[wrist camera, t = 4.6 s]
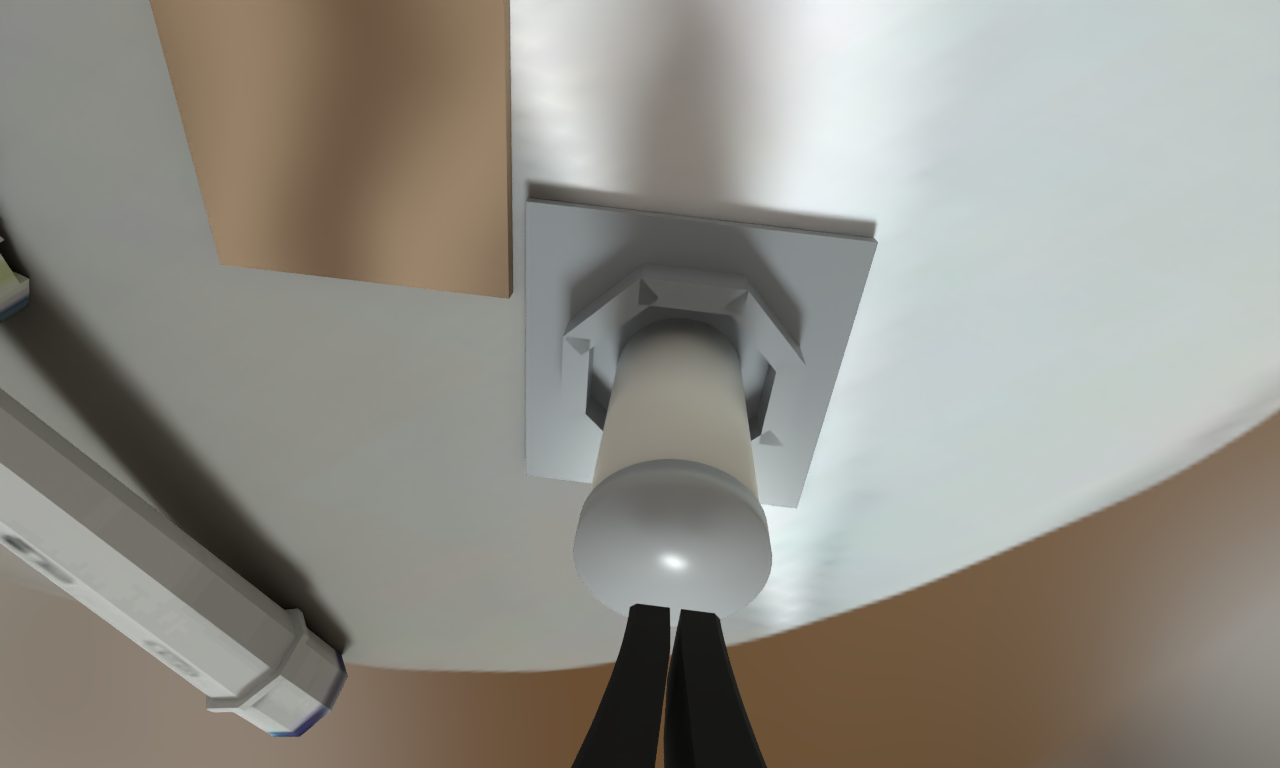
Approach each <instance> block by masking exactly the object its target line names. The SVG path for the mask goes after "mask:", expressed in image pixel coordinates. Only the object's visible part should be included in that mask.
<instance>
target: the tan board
mask: <svg viewBox="0 0 1280 768" xmlns="http://www.w3.org/2000/svg"><path fill="white" fill-rule="evenodd" d="M150 4H151V8H152V12H153V15H154V19H155V23H156V26H157V30H158V34H159V37H160V41H161V45H162V49H163V52H164V56H165V60H166V63H167V67H168V71H169V75H170V78H171V82H172V86H173V89H174V93H175V97H176V100H177V104H178V108H179V112H180V115H181V119H182V123H183V126H184V130H185V134H186V137H187V141H188V145H189V149H190V152H191V156H192V160H193V163H194V167H195V171H196V174H197V178H198V182H199V186H200V189H201V193H202V197H203V200H204V204H205V208H206V212H207V215H208V219H209V223H210V226H211V230H212V234H213V237H214V241H215V245H216V249H217V252H218V256H219V260H220V263H221V264H222V265H231V266H239V267H248V268H256V269H264V270H273V271H281V272H290V273H298V274H307V275H315V276H323V277H332V278H340V279H349V280H357V281H365V282H374V283H382V284H391V285H399V286H407V287H416V288H424V289H433V290H441V291H449V292H458V293H466V294H475V295H483V296H492V297H500V298H508V299H509V298H510V296H511V295H512V293H513V254H512V171H511V88H510V5H509V0H150Z"/></svg>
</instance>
